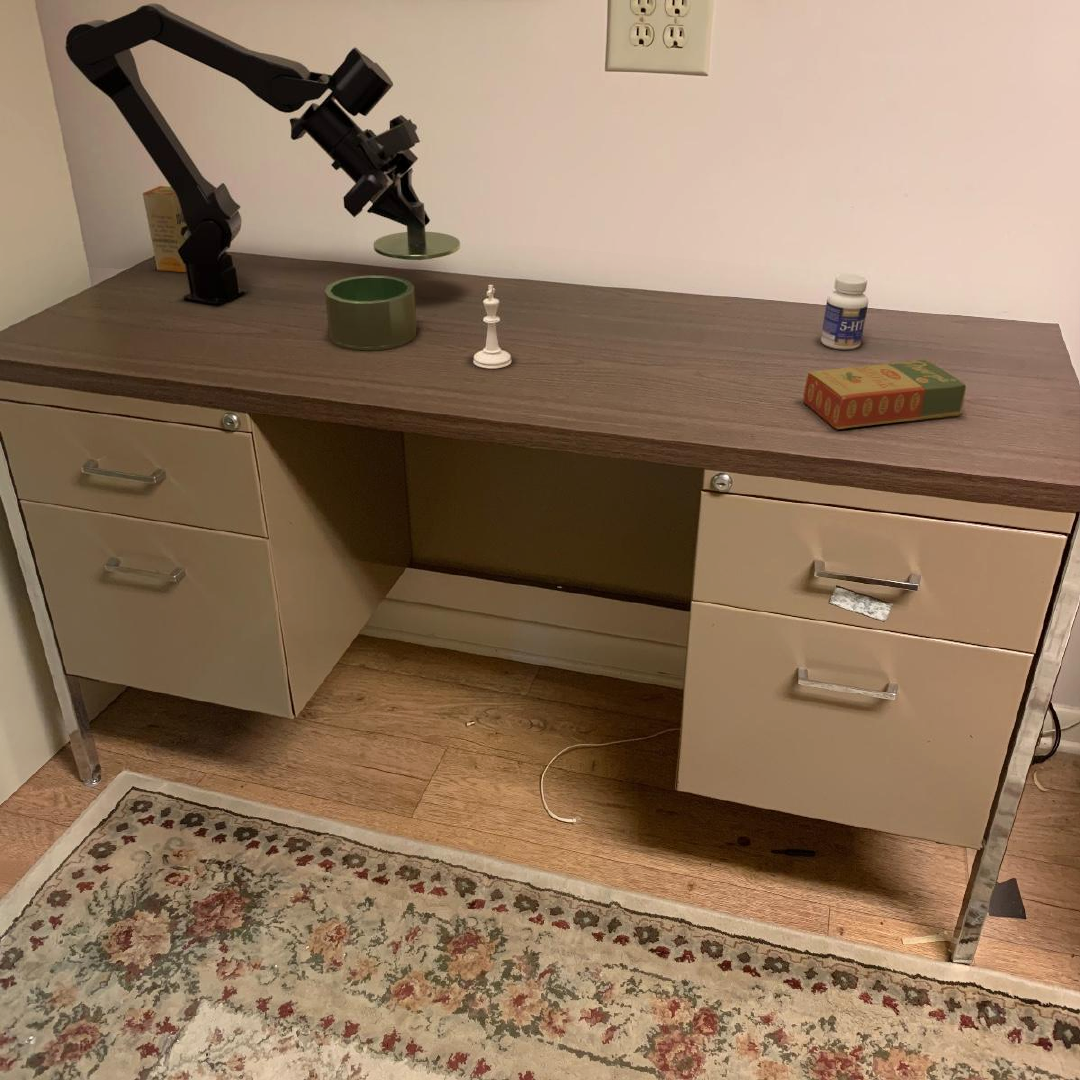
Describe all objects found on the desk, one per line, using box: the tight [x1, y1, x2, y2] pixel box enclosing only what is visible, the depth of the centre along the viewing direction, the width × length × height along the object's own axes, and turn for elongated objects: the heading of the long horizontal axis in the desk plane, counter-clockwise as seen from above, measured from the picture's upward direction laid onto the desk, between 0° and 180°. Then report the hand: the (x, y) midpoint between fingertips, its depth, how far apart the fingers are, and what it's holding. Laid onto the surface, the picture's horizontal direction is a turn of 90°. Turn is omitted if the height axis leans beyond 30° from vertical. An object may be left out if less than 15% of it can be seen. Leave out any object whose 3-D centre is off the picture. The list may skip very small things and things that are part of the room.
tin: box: [324, 274, 417, 352], centre depth 139 cm, size 12×12×6 cm
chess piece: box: [472, 284, 513, 370], centre depth 130 cm, size 5×5×10 cm
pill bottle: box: [820, 273, 869, 351], centre depth 136 cm, size 5×5×9 cm
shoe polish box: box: [142, 185, 191, 273], centre depth 163 cm, size 5×5×12 cm
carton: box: [802, 359, 967, 430], centre depth 119 cm, size 8×16×4 cm, turn 105°
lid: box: [372, 201, 461, 261], centre depth 147 cm, size 12×12×7 cm
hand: (425, 226), depth 146 cm, fingers closed on lid, 2 cm apart
